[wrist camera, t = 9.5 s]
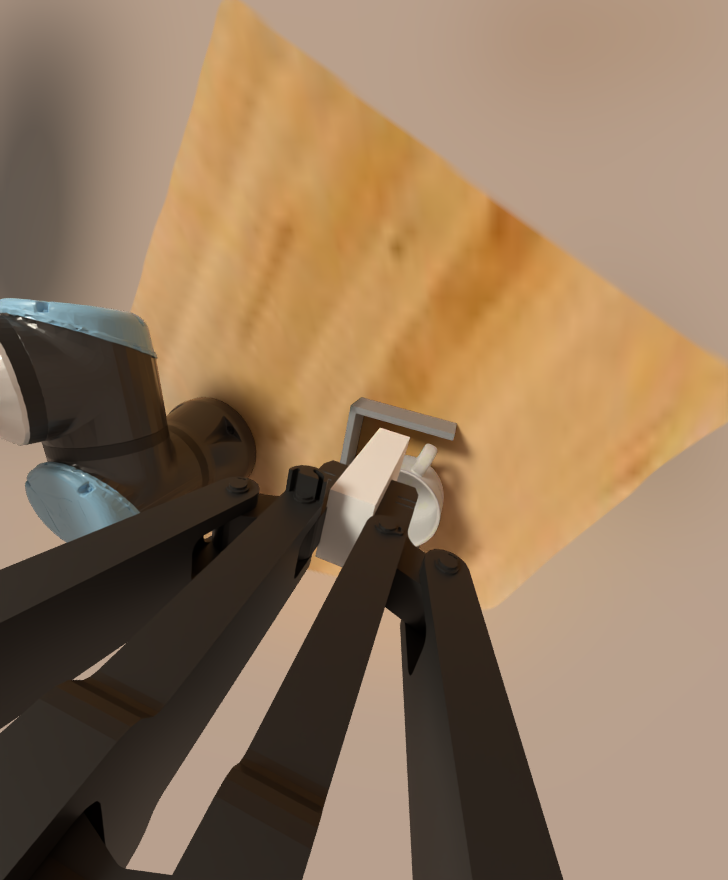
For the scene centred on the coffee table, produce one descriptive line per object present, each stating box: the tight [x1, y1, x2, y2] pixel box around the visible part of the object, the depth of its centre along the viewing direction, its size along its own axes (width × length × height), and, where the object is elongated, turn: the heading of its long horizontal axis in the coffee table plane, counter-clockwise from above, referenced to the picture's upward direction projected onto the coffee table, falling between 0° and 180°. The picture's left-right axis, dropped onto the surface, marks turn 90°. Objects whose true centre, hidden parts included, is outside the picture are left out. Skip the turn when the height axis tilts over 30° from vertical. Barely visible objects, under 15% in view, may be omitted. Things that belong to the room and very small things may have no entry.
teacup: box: [397, 444, 444, 547], centre depth 46 cm, size 14×11×8 cm
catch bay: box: [340, 397, 457, 549], centre depth 48 cm, size 13×18×4 cm
